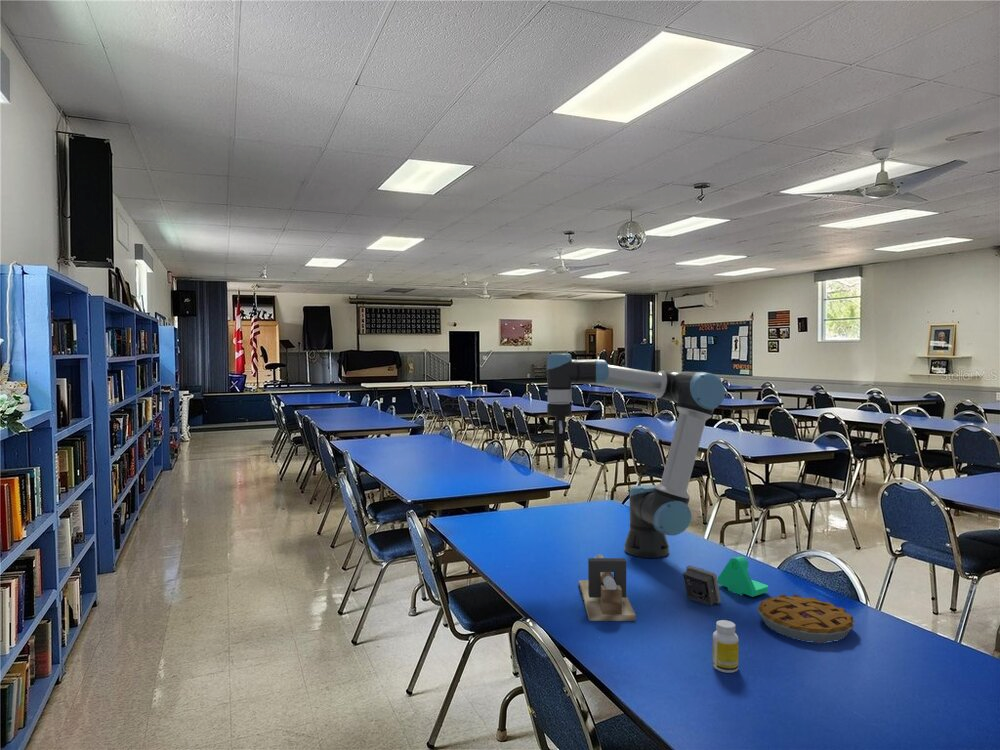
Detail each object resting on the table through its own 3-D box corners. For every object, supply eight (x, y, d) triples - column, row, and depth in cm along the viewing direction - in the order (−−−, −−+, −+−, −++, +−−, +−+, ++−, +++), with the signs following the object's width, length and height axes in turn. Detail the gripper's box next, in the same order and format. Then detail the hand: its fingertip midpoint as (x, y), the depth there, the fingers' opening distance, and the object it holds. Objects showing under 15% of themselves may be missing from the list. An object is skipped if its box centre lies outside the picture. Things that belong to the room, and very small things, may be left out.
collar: (624, 594, 173) (624, 558, 172) (626, 597, 170) (626, 561, 170) (588, 594, 173) (588, 558, 173) (589, 597, 171) (589, 561, 170)
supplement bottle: (743, 671, 136) (744, 627, 136) (722, 675, 135) (722, 630, 135) (728, 660, 142) (728, 617, 141) (707, 663, 140) (707, 620, 140)
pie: (739, 618, 164) (739, 599, 164) (799, 604, 173) (799, 586, 173) (810, 654, 144) (810, 633, 144) (874, 636, 153) (874, 616, 153)
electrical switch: (721, 603, 173) (720, 571, 172) (711, 610, 170) (709, 577, 169) (692, 593, 181) (690, 562, 180) (681, 600, 177) (679, 568, 177)
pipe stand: (619, 585, 187) (619, 558, 187) (635, 620, 162) (635, 590, 162) (579, 585, 188) (579, 558, 187) (589, 620, 163) (589, 590, 162)
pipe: (604, 564, 187) (604, 553, 187) (618, 595, 163) (618, 583, 163) (593, 564, 187) (593, 553, 187) (605, 595, 163) (605, 583, 163)
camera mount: (769, 595, 180) (769, 559, 179) (752, 600, 176) (752, 564, 175) (734, 582, 190) (734, 548, 190) (717, 587, 186) (717, 552, 186)
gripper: (546, 401, 202) (546, 473, 203) (548, 404, 189) (548, 482, 190) (569, 401, 202) (569, 473, 203) (573, 404, 189) (573, 482, 190)
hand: (559, 477), depth 197 cm, fingers closed
